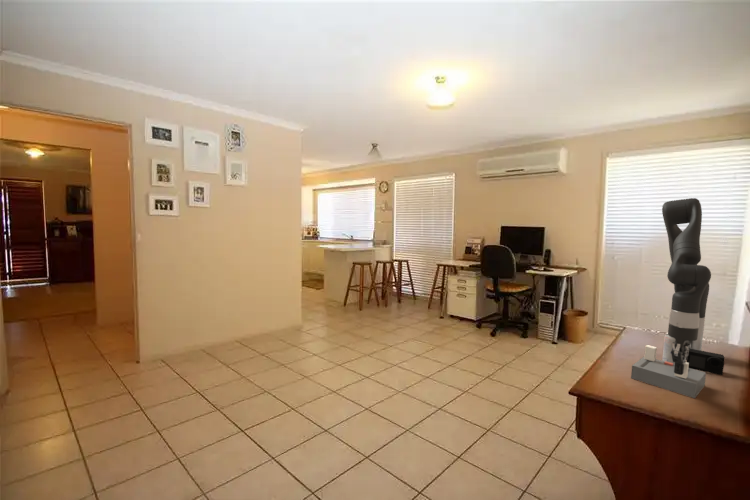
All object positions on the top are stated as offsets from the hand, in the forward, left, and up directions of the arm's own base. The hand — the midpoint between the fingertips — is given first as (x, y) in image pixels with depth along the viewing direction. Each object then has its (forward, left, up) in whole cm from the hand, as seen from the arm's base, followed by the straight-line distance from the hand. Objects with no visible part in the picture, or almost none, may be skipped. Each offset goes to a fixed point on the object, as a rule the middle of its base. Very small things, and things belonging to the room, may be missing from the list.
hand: (678, 373), depth 120 cm
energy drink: (-28, -8, -8) cm, 30 cm away
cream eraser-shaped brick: (-4, 0, -2) cm, 4 cm away
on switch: (-12, -11, -2) cm, 17 cm away
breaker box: (-8, -4, -7) cm, 12 cm away
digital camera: (-32, +1, -8) cm, 33 cm away
